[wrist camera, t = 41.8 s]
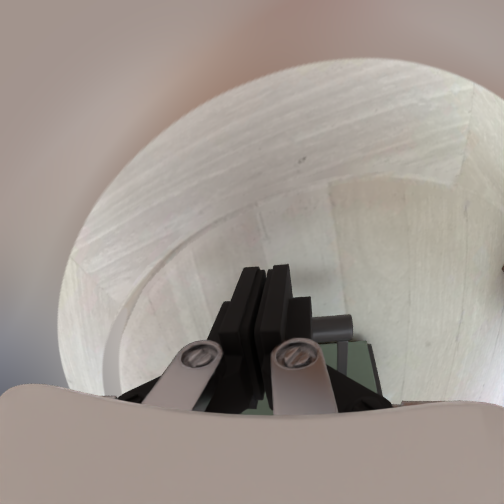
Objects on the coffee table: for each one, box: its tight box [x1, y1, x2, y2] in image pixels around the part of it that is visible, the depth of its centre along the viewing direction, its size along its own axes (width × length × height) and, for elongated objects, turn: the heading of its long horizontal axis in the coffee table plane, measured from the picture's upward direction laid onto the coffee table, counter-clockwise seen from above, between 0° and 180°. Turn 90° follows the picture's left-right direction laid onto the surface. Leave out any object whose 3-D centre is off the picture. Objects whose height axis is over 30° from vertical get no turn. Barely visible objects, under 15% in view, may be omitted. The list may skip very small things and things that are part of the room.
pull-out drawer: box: [242, 314, 377, 415], centre depth 20 cm, size 18×10×7 cm, turn 9°
